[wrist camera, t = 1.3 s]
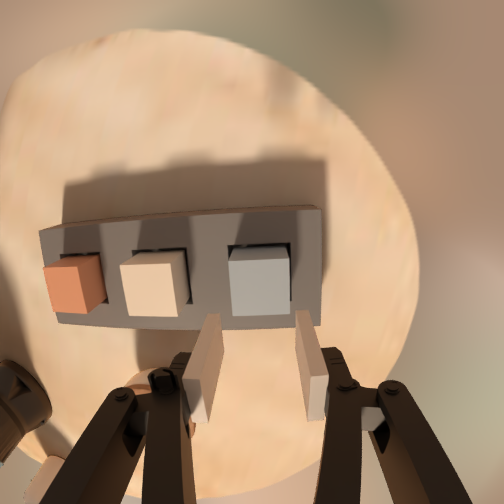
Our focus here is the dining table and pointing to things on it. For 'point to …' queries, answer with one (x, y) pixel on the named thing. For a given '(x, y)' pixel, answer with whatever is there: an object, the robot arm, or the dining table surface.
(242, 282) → the grey cube
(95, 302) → the key terracotta
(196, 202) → the dining table surface
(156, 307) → the key ivory
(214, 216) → the console
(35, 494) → the can
